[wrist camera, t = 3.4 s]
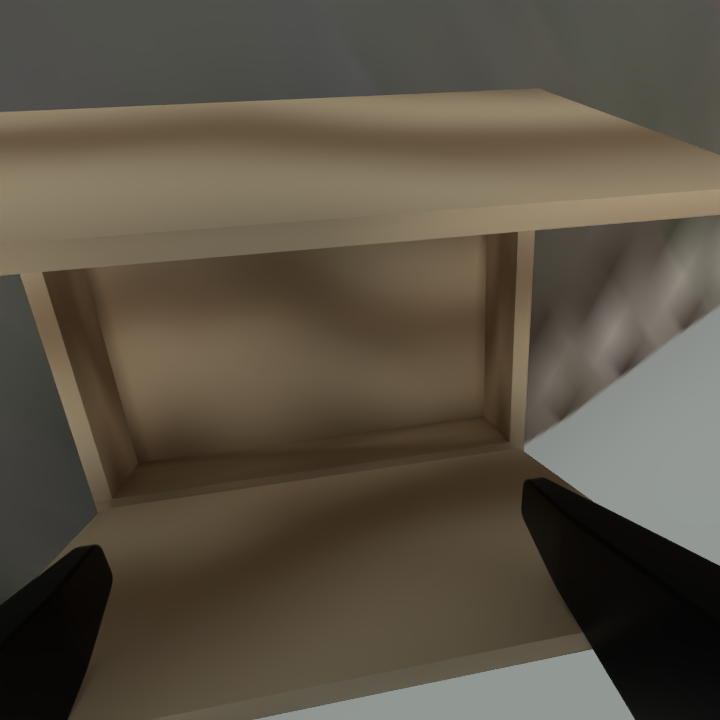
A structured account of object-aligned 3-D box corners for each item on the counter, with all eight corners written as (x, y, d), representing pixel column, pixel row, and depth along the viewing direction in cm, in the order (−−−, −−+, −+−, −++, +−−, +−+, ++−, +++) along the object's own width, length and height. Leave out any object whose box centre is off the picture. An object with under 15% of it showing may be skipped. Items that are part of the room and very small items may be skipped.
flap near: (777, 210, 6) (796, 183, 6) (-382, 307, 5) (-429, 277, 4) (534, 104, 12) (538, 88, 12) (-18, 131, 10) (-28, 113, 10)
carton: (492, 422, 19) (523, 453, 16) (130, 472, 17) (98, 516, 14) (499, 114, 15) (542, 88, 12) (34, 138, 13) (-33, 114, 11)
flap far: (519, 448, 16) (519, 460, 16) (101, 509, 14) (105, 522, 14) (732, 602, 8) (731, 624, 8) (-163, 782, 6) (-152, 809, 6)
